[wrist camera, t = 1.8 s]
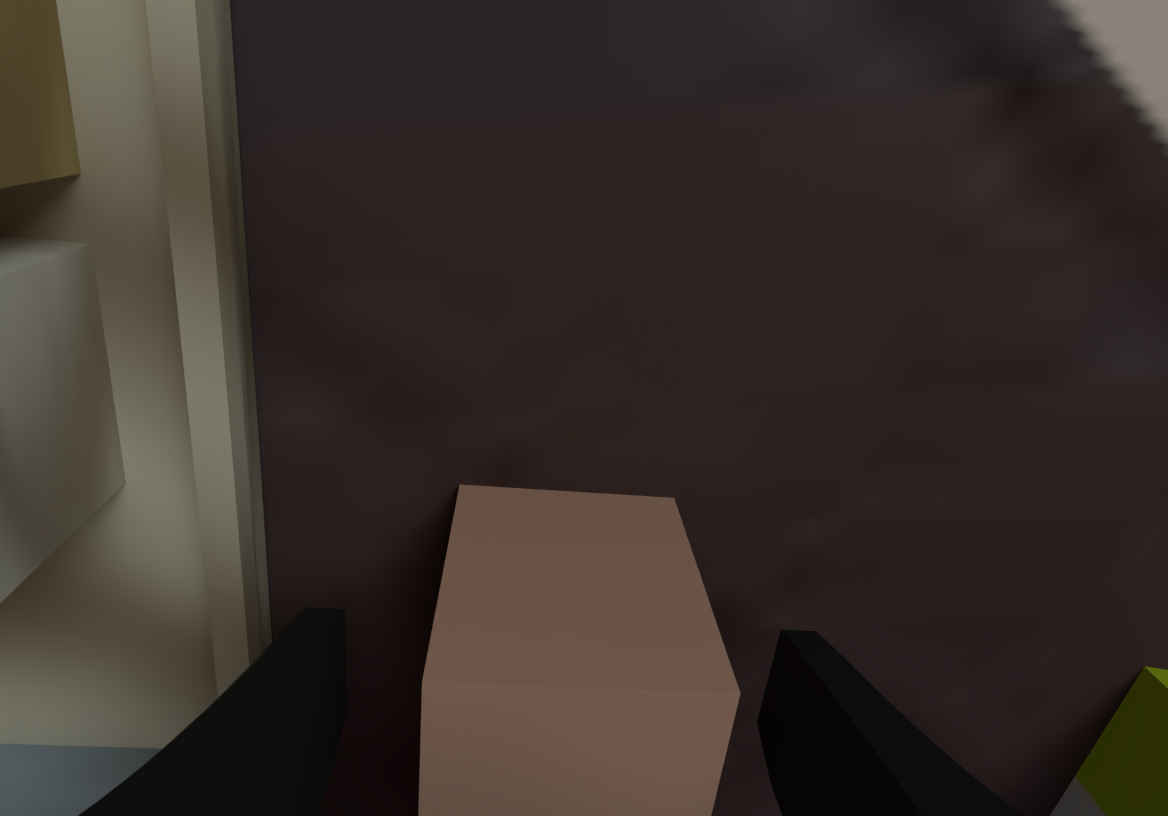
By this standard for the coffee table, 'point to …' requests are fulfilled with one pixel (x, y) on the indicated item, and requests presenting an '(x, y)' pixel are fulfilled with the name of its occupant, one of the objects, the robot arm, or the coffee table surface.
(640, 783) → the terracotta block
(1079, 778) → the puzzle toy
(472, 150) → the coffee table surface
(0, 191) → the rack
